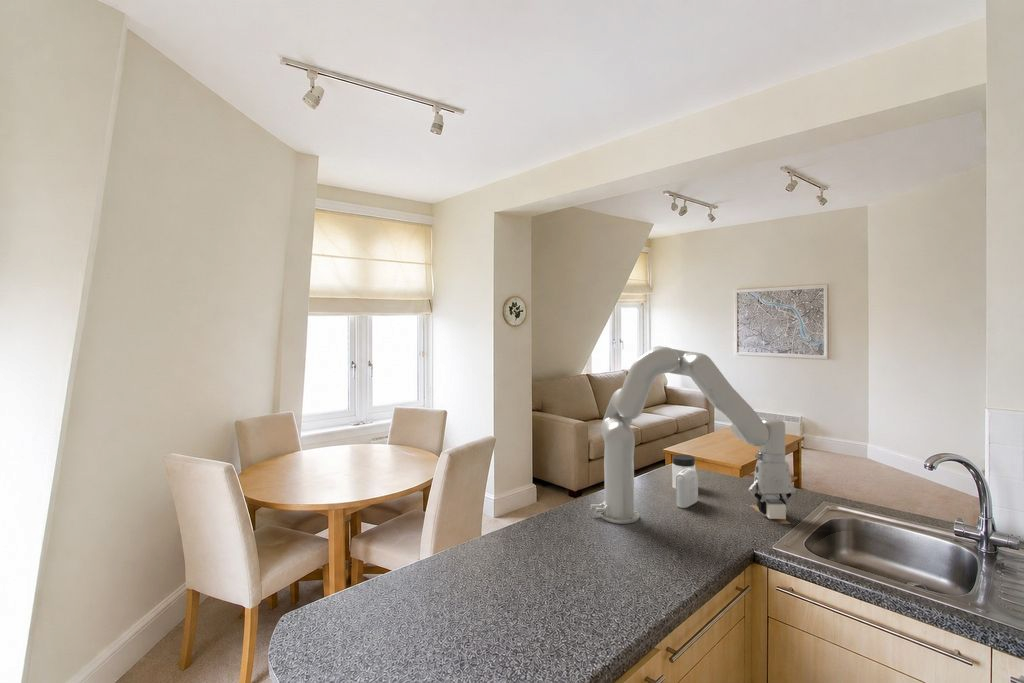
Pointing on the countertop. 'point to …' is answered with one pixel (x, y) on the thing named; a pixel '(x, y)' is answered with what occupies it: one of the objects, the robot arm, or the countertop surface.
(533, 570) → the countertop surface
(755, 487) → the robot arm
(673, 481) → the jar
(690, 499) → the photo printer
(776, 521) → the strip
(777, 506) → the white and grey block
